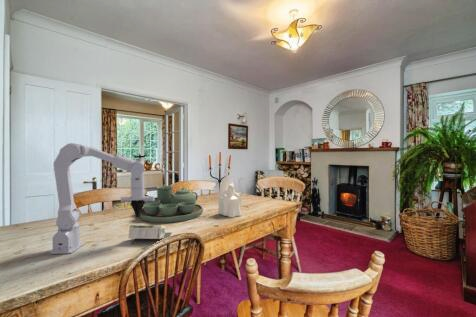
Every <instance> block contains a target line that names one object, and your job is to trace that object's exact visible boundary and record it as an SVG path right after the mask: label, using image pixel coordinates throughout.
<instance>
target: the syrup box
mask: <svg viewBox="0 0 476 317" xmlns="http://www.w3.org/2000/svg"><path fill="white" fill-rule="evenodd" d="M165 233H166V225H152V224H150V225H149V224H148V225H147V224H146V225H144V224H141V225H140V224H138V225H137V224H134V225H132V224H131V225H129V229H128V239H129V240H130V239H131V240H132V239H133V240H134V239H162V238H164V235H165Z"/></svg>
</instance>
